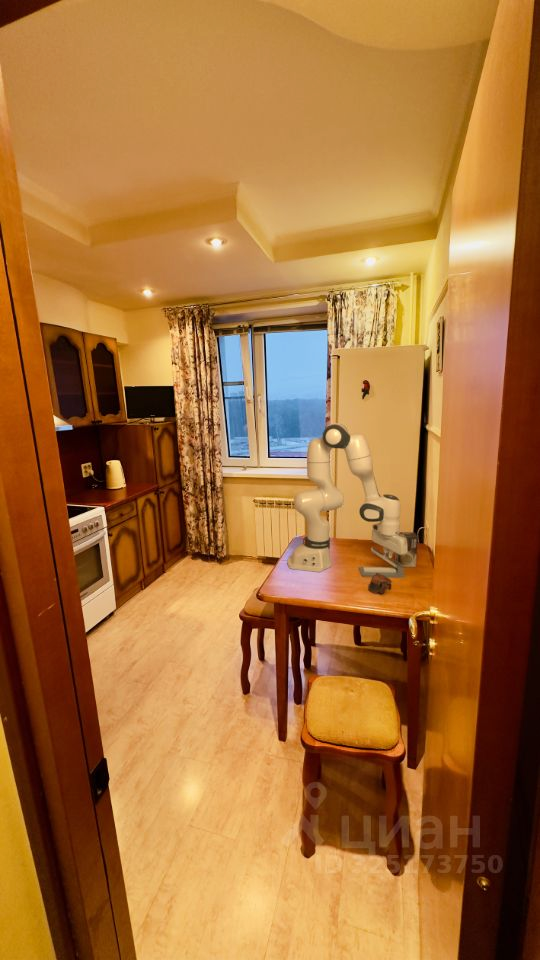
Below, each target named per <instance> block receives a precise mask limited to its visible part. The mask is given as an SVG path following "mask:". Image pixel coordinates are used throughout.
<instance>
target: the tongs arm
mask: <svg viewBox="0 0 540 960" xmlns="http://www.w3.org/2000/svg"><path fill="white" fill-rule="evenodd" d="M370 550H371V553H373V554H375V555H376V556H378V557H379V558H380V559H383V560H384V561H385V562H387V563H388V564H389V565H391V566H393V567H396V568H397V567H400V566H399V565H398V564H396V563H395V560H393V559H391V558H389V557H387V556H385V554H384V553H383V552H382V551H380V550H379V549H377V548H376V547H375V546H374V547H373V546H372V547H371V548H370Z"/></svg>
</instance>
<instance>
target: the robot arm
mask: <svg viewBox="0 0 540 960" xmlns="http://www.w3.org/2000/svg"><path fill="white" fill-rule="evenodd" d="M307 445H308V446H307V451H306V453H307V454H306V471H307V472H306V474H307V479H308V480H309V481H310V482H313V484H314V483H315V484H316V485H317V489H311V490H310V489H309V490H305V491H301V492H298V493H296V495H295V496H294V497H293V506H294V509H295V510H296V511H297V512H298V513H299V514H301V516H303V519H305V523H306V533H307V534H306V535H305V534H303V535H302V536H301V537H302V543H301V544H300V545H298V546H296V547H295V548H294V549H293V552H292V554H291V555H290V556H289V557H288V558H287V566H288V567H289V568H290V569H291V570H298V571H306V572H307V571H308V572H316V573H322V571H324V570H326V569H329V568H331V567H332V564H333V562H332V559H331V551H330V550H331V537H330V531H331V529H330V523H329V521H328V520H327V519H326V518H325V517H322V516H321V514H320V513H322V512H328V511H329V512H330V511H333V510H338V509H339V508H342V506H343V505H344V501H345V497H344V493H343V492H342V491H341V490H340V489H339V488H337V486H335V483H334V482H333V479H332V476H331V450H332V449H342V450H343V451H344V453H345V456H346V461H347V465H348V468H349V470H350V472H351V474H352V475H354V476H355V477H357V478H358V479H360V481H361V484H362V488H363V491H364V495H365V496H364V497H365V498H364V502H363V503H362V504H361V506H360V508H359V516H360V518H361V519H362V520H364V521H365V522H369V523H371V522H372V523H374V522H375V523H374V524H372V525H371V526H372V527H371V528H372V531H371V540H372V542H373V543H375V544H378V545H379V546H382V548H383V549H382V550H383V552H384V555H385V556H386V557H388V558H389V559H391V558H393V554H395V553H397V554H399V555H404V554H406V553H407V540H406V538H405V536H404V535H403V534H400V533H399V532H401V531H400V527H401V526H400V525H401V523H400V517H401V501H400V499H399V498H398V497H397V496H395V495H393V494H387V493H386V494H383V495H380V493H379V490H378V487H377V483H376V482H377V481H376V479H375V475H374V465H373V463H374V462H373V458H372V453H371V449H370V446H369V443H368V440H367V439H366V437H365V435H364V434H361V433H349V431H348V429H347V427H346V426H345V425H343V424H342V423H335V422H334V423H331V424H329V425H328V426H326V428H325V429H324V430H323V432H322V435H321V437H317V438H314V439H311V440H310V441H309V442H308V444H307ZM377 522H378V523H377Z"/></svg>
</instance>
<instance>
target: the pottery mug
mask: <svg viewBox="0 0 540 960" xmlns="http://www.w3.org/2000/svg"><path fill="white" fill-rule="evenodd" d="M392 582H393V581H392V580H391V579H390V577H385V576H383V575H381V574H379V573H376V575H374V576H373V577H371V579H370V583H369V584H368V588H367V589H368V590H369V591H370V592H371V593H373V594H375V595H377V594H378V593H379V594H384V593H385V591H386V590H387V588H388V590H389V591H390V590H392Z"/></svg>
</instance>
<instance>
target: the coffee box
mask: <svg viewBox="0 0 540 960" xmlns="http://www.w3.org/2000/svg"><path fill="white" fill-rule="evenodd" d="M399 533H400V534H403V535H404V536H405V538H406V540H407V553H406V554H404V555H399V554H397V553H395V552H394V562H400V567H403V568H405V567H406V568H408V567H409V568H416V567H417V555H418V543H419V537H418V535H417V534H416V532H413V531H408V532H407V531H406V532H405V531H403V532H402V531H399Z"/></svg>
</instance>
